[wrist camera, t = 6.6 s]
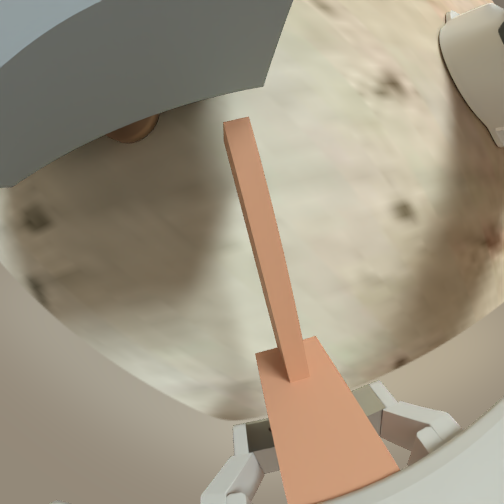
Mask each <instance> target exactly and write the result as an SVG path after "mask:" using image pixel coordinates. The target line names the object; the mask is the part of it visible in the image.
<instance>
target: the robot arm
mask: <svg viewBox="0 0 504 504" xmlns="http://www.w3.org/2000/svg"><path fill="white" fill-rule="evenodd" d="M439 39H440V46H441V50H442V54H443V57H444V60H445V62H446V65H447V67H448V70H449V72H450V74H451V76H452V78H453V80H454V82H455V84H456V86H457V88H458V89H459V91H460V93H461V94H462V96H463V98H464V99H465V101H466V102H467V104H468V105H469V107H470V108H471V109H472V111H473V112H474V113H475V114H476V115H477V117H478V118H479V119H480V120H481V121H482V122H483V123H484V124H485V125H486V127H487V128H488V129H489V131H490V133H491V135H492V137H493V139H494V141H495V143H496V144H497V146H498V147H504V9H503V8H500V7H499V6H497V5H495V4H493V3H488V4H485V5H482V6H479V7H477V8H474V9H472V10H469V11H467V12H465V13H462V14H458V13H456V12H455V11H449V12H447V13H446V24H445V25H444V26H443V27H442V28H441V30H440V35H439ZM351 392H352V394H353V395H354V397H355V398H356V400H357V402H358V403H359V405H360V406H361V408H362V410H363V411H364V413H365V414H366V416H367V418H368V419H369V421H370V422H371V424H372V426H373V427H374V429H375V430H376V432H377V434H378V435H379V436H380V437H382V438H384V439H386V440H388V441H390V442H392V443H394V444H396V445H398V446H401V447H403V448H405V449H407V450H410V451H412V452H411V455H410V457H409V460H408V463H407V465H408V466H407V467H405V468H404V469H402V470H400V471H398V472H396V473H394V474H392V475H390V476H388V477H386V478H384V479H381V480H379V481H377V482H375V483H373V484H370V485H368V486H366V487H363V488H361V489H358V490H356V491H353V492H350V493H348V494H345V495H342V496H339V497H336V498H334V499H330V500H327V501H324V502H321V503H317V504H504V396H503V397H502V398H501V399H500V400H499V401H497V402H496V403H495V404H494V405H493V406H492V407H491V408H490V409H489V410H488V411H486V412H485V413H484V414H483V415H482V416H481V417H479V418H478V419H477V420H476V421H475V422H473V423H472V424H471V425H470V426H468V427H467V428H466V429H465V430H463V429H462V428H461V426H460V425H459V424H458V423H456V421H455V420H454V419H453V418H452V417H451V416H450V415H449V414H448V413H447V412H442V411H438V410H434V409H430V408H426V407H422V406H418V405H414V404H410V403H407V402H404V401H399V402H397V400H396V399H395V398H394V397H393V396H392V394H391V393H390V392H389V391H388V389H387V388H386V387H385V386H384V384H383V383H382V382H381V381H380V380H377V381H375V382H372V383H370V384H368V385H365V386H363V387H361V388H358V389H356V390H354V391H351ZM233 443H234V456H231V457H230V458H229V459H228V461H227V462H226V463H225V465H224V466H223V468H222V469H221V470H220V471H219V473H218V474H217V476H216V477H215V478H214V480H213V481H212V482H211V483H210V485H209V486H208V487H207V488H206V490H205V491H204V492H203V493H202V495H201V504H253V503H252V502H251V501H252V499H253V497H254V495H255V493H256V491H257V489H258V487H259V485H260V483H261V481H262V479H263V477H264V474H266V473H270V472H274V471H279V470H280V468H279V463H278V459H277V454H276V450H275V445H274V441H273V436H272V431H271V427H270V422H269V418H267V419H263V420H258V421H253V422H247V423H243V424H238V425H233ZM50 504H71V503H68V502H65V501H60V500H57V501H54V502H51V503H50Z"/></svg>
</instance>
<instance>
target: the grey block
mask: <svg viewBox="0 0 504 504" xmlns="http://www.w3.org/2000/svg"><path fill="white" fill-rule="evenodd" d="M292 2H293V0H0V188H5V187H13V186H15V185H16V184H18V183H19V182H20V181H22V180H23V179H25V178H27V177H28V176H30V175H31V174H33V173H34V172H36V171H38V170H39V169H41V168H42V167H44V166H46V165H47V164H49V163H51V162H53V161H54V160H56V159H58V158H60V157H61V156H63V155H65V154H67V153H69V152H71V151H73V150H74V149H76V148H78V147H80V146H82V145H84V144H86V143H88V142H90V141H93V140H95V139H97V138H99V137H101V136H103V135H105V134H108V133H110V132H112V131H115V130H117V129H119V128H122V127H124V126H126V125H129V124H131V123H134V122H137V121H139V120H142V119H144V118H147V117H150V116H153V115H155V114H158V113H161V112H164V111H167V110H170V109H173V108H177V107H180V106H183V105H186V104H190V103H193V102H197V101H200V100H204V99H208V98H212V97H216V96H220V95H224V94H228V93H233V92H237V91H242V90H247V89H252V88H258V87H263V86H264V83H265V79H266V76H267V73H268V70H269V67H270V64H271V61H272V58H273V55H274V52H275V49H276V47H277V44H278V41H279V38H280V35H281V32H282V29H283V27H284V24H285V21H286V18H287V15H288V13H289V10H290V7H291V5H292Z"/></svg>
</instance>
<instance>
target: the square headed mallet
mask: <svg viewBox="0 0 504 504" xmlns="http://www.w3.org/2000/svg"><path fill="white" fill-rule="evenodd" d="M223 131H224V144H225V147H226V151H227V155H228V159H229V163H230V166H231V170H232V174H233V178H234V182H235V186H236V189H237V193H238V197H239V201H240V205H241V209H242V212H243V216H244V220H245V224H246V228H247V232H248V235H249V239H250V243H251V247H252V251H253V255H254V258H255V262H256V266H257V270H258V274H259V278H260V281H261V285H262V289H263V293H264V297H265V301H266V304H267V308H268V312H269V316H270V320H271V324H272V327H273V331H274V335H275V339H276V343H277V347H278V348H274V349H271V350H267V351H263V352H260V353H256V354H255V355H256V360H257V365H258V370H259V375H260V379H261V384H262V389H263V394H264V399H265V403H266V408H267V413H268V418H269V422H270V427H271V431H272V436H273V441H274V445H275V450H276V454H277V459H278V463H279V468H280V472H281V476H282V481H283V485H284V489H285V494H286V498H287V502H288V504H317V503H321V502H324V501H327V500H330V499H334V498H336V497H339V496H342V495H345V494H348V493H350V492H353V491H356V490H358V489H361V488H363V487H366V486H368V485H370V484H373V483H375V482H377V481H379V480H381V479H384V478H386V477H388V476H390V475H392V474H394V473H396V472H398V471H400V469H399V467H398V466H397V464H396V463H395V461H394V459H393V458H392V456H391V454H390V453H389V451H388V450H387V448H386V446H385V445H384V443H383V442H382V440H381V438H380V437H379V435H378V434H377V432H376V430H375V429H374V427H373V426H372V424H371V422H370V421H369V419H368V418H367V416H366V414H365V413H364V411H363V410H362V408H361V406H360V405H359V403H358V402H357V400H356V398H355V397H354V395H353V394H352V392H351V391H350V389H349V387H348V386H347V384H346V383H345V381H344V380H343V378H342V376H341V375H340V373H339V372H338V370H337V369H336V367H335V365H334V364H333V362H332V361H331V359H330V358H329V356H328V354H327V353H326V351H325V350H324V348H323V347H322V345H321V343H320V342H319V340H318V339H317V337H316V336H314V337H311V338H307V339H304V340H303V339H302V334H301V330H300V325H299V320H298V315H297V311H296V306H295V301H294V297H293V292H292V288H291V283H290V279H289V274H288V270H287V265H286V261H285V257H284V252H283V248H282V244H281V240H280V235H279V231H278V227H277V223H276V219H275V215H274V211H273V207H272V203H271V199H270V195H269V191H268V187H267V183H266V179H265V175H264V171H263V167H262V164H261V160H260V156H259V152H258V149H257V145H256V141H255V138H254V134H253V130H252V127H251V123H250V119H249V117H245V118H241V119H236V120H232V121H227V122H223Z"/></svg>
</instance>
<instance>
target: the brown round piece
mask: <svg viewBox="0 0 504 504" xmlns="http://www.w3.org/2000/svg"><path fill="white" fill-rule="evenodd" d="M158 118H159V113H158V114H155V115H153V116H150V117H147V118H144V119H142V120H139V121H137V122H134V123H131V124H129V125H126V126H124V127H122V128H119V129H117V130H115V131H112V132H110V133H108V134H105V135H106V136H107V137H109V138H112V139H114V140H116V141H119V142H122V143H134V142H137V141H140V140H141V139H143V138H145V137H146V136H147V135H148V134H149V133H150V132H151V131H152V130H153V129H154V127H155V125H156V123H157V121H158Z"/></svg>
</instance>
